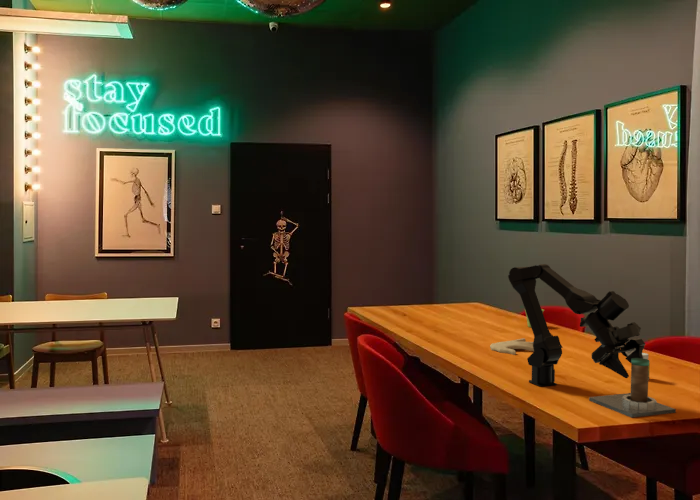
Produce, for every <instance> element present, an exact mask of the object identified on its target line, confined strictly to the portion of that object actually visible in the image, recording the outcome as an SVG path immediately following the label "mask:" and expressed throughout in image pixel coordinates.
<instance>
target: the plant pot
mask: <svg viewBox="0 0 700 500" xmlns="http://www.w3.org/2000/svg"><path fill="white" fill-rule="evenodd" d="M541 310H542V312H543V313H544V311H545V309H543V308H541ZM524 311H525V308H524ZM525 316H526V322H527V323H526V324H527V327H528V328H531V325H530V322H529V319H528V316H527V314H526V311H525Z"/></svg>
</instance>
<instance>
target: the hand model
mask: <svg viewBox="0 0 700 500" xmlns="http://www.w3.org/2000/svg"><path fill="white" fill-rule="evenodd" d="M533 342H534V341H527V340H526V338H518V339H512V340H506V341H498V342H493V343H491V344H490V346H489V348H490V350H491V351H494V352H498V353H501V354H510V355H513V356H516V355H517V352H516V350H526V351H529V352H534V349H533Z"/></svg>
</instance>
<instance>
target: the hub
mask: <svg viewBox="0 0 700 500" xmlns="http://www.w3.org/2000/svg"><path fill="white" fill-rule="evenodd" d="M630 396H631V392H630V393H618V394H616V393H615V394H610V395H609V394H608V395H598V396H588V397H589V398H588V400H589V402H592V403H595V404H597V405H599V406H601V407H604V408H606V409H609V410H611V411H614V412H617V413H619V414H622V415H623V416H626V417H629V418H632V419H634V418H640V417H649V416H658V415H669V414H675V413H677V412H676V410H677V409H676V408H674V407H671V406H668V405H665V404H663V403H659V402H657V400H656V399H655V398H654V397H650V396H648V402H637V401H632V400H630Z"/></svg>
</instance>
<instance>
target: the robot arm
mask: <svg viewBox="0 0 700 500" xmlns="http://www.w3.org/2000/svg"><path fill="white" fill-rule="evenodd" d="M507 277H508V281H509V282H510V285H511V287H512V288H513V289H514V290H515V291H516V292H517V294H518V295H519V296H520V298H521V299H520V300H521V301H522V305H523V307H524V309H525V310H524V311H526V312H525V315H526V314H527V316H528V319H529V322H530V325H531V327H530V328H531V330H532V333H533V341H532V342H533V349H534V352H533V351H532V352H533V353H531V354H530V355H529V356H528V357H527V363H528V366H531V379H529V380H528V382H529V383H530V384H532V385H533V384H534V385H535V386H538V387H547V386H549V387H551V386H557V383H556V382H555V381H556V377H555V376H556V375H555V374H556V370H555V366H556V365H558V364H559V360H560V359H561V356H562V354H563V350H562V349H563V348H564V347H563V345H562V344H561V341H560V337H559V336H558V335H553V334H552V332H551V331H550V330H549V327H548V324H547V321H546V318H545V315H544V311H543V312H542V310H541V309H542V306H541V304H540V300H539V299H538V297H537V296H538V295H537V293H536V286H537V280H536V279H540V280H541V281H542V282H543V283H545V284H546V285H547V286H548V287H550V288H551V289H552V290H553V291H554V292H556V293H557V294H558V295H560V296H561V297H562V298H563V299H564V301H565V304H566V306H567V307H568V308H569V309H570V310H571V311H572V312H573V314H576V315H584V314H585V315H586V314H588V315H586V316H585V317H580V321H579V322H580V323H579V327H580V328H582V327H588V328H589V329H590V331H591V333H592V334H593V335H594V336H595V338H594V339H593V340H594V341H595V342H596V343H600V345H599V346H598V347H597V348H596V349H595V350H594V351H593V352H592V353H591V359H592V361H593V362H594V363H595V364H597V363H598V364H599V365H601V366H604V367H605V368H607V369H608V370H611V371H612V372H615V373H616V374H618V375H619V376H621V377H623V378H625V379H628V378H629V377H630V375H629V373H628V371H627V370H626V368H625V367H624V364H623V362H622V361H621V359H620V357H619V354H621V355H622V356H624V357H625V360H626V361H628V362H629V363H630V364H631V359H632V358H643V356H642V353H643V351H644V350H645V346H646V343H645V341H644V340H643V339H642V338H638V336H641V334H640V333H641V330H642V328H641V327H640V326H639V324H637V323H636V322H630V323H627V325H626V326H623V327H619V326H613V324H612V323H611V321H616V319H618V318H619V317H620V316H621V315H622V314H623V313H625V312H626V311H627V310H628V309H629V307H630V305H629V302H628V301H627V300H626V298H624V297H622V296H621V295H620V294H618V293H617V292H616V291H614V290H610V291H608V292H607V293H606V294H605V296H604V297H603V298H602V299H597V297H596V296H595V295H594V294H592V293H590V292H587V291H586V290H584V289H580V288H577V287H575V286H574V285H573V284H572V283H570V282H569V281H568V280H566V279H565V278H564V277H562V276H561V275H560V274H559V273H557V272H556V271H555V270H553V269H552V268H551V267H550V265H549V264H547V263H539V264H535V265H531V266H515V267H512V268H511V269H510V270H509V271H508V275H507ZM633 337H637V338H633ZM630 338H631V339H630Z"/></svg>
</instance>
